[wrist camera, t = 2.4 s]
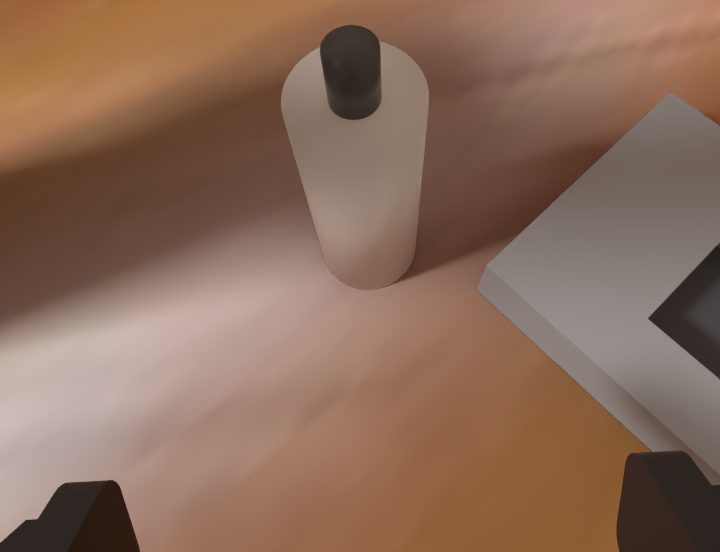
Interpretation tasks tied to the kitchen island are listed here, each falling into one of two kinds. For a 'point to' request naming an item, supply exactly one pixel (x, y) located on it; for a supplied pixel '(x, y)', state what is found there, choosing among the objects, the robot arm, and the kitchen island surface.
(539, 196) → the kitchen island surface
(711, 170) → the socket
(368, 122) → the plug
